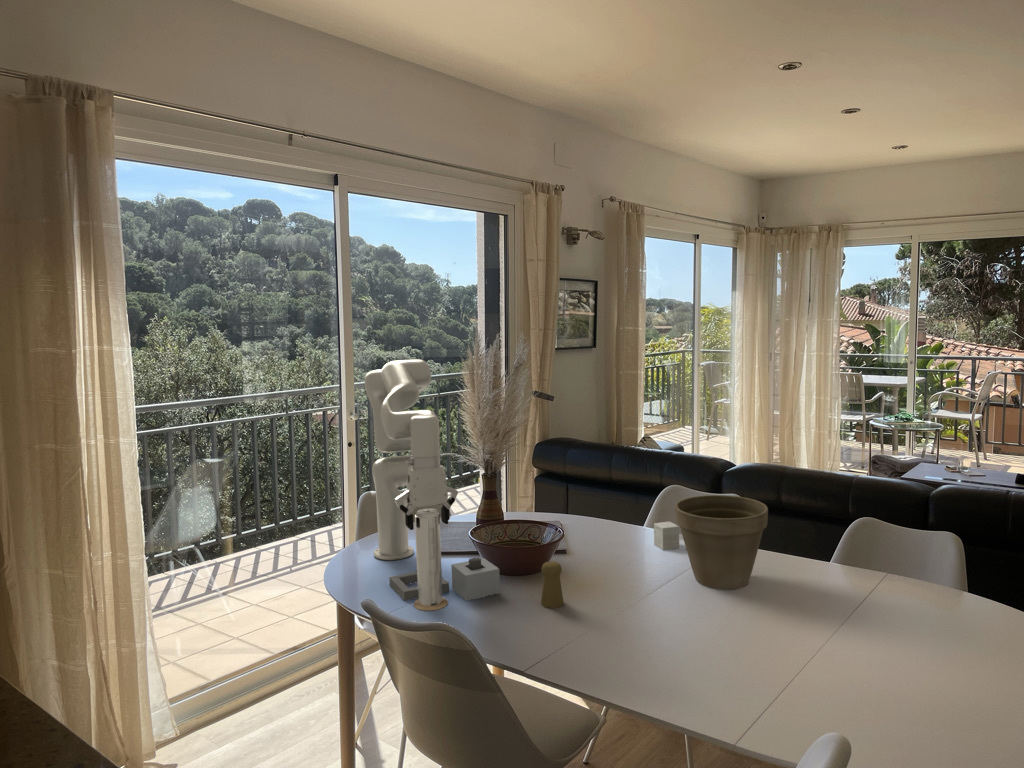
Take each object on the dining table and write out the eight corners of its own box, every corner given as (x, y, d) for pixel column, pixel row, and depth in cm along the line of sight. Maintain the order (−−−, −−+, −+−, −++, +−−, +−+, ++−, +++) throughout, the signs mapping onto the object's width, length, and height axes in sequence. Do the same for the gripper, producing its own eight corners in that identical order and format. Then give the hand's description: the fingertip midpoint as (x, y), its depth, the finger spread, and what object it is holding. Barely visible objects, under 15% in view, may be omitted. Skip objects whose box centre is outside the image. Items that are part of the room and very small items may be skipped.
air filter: (444, 597, 197) (441, 507, 194) (440, 607, 191) (436, 514, 188) (421, 597, 198) (417, 507, 195) (415, 607, 191) (411, 514, 189)
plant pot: (667, 590, 199) (667, 513, 197) (682, 561, 222) (682, 491, 219) (764, 602, 190) (765, 521, 187) (769, 570, 212) (770, 497, 210)
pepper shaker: (566, 600, 194) (565, 560, 193) (560, 609, 189) (559, 567, 187) (544, 597, 196) (543, 558, 195) (537, 606, 190) (537, 565, 189)
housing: (452, 588, 204) (451, 564, 203) (484, 581, 209) (483, 558, 208) (466, 600, 195) (465, 575, 195) (499, 593, 200) (499, 568, 199)
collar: (389, 585, 208) (389, 576, 208) (432, 576, 214) (432, 568, 213) (404, 600, 196) (404, 591, 196) (449, 591, 202) (448, 582, 202)
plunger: (467, 573, 202) (466, 559, 202) (478, 570, 204) (477, 557, 203) (472, 577, 199) (471, 562, 199) (483, 574, 201) (483, 560, 200)
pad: (409, 601, 196) (409, 600, 196) (440, 594, 200) (440, 593, 200) (420, 613, 188) (420, 612, 188) (453, 606, 192) (453, 605, 192)
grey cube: (653, 544, 238) (653, 523, 237) (670, 542, 240) (670, 521, 239) (662, 550, 232) (662, 528, 231) (679, 548, 234) (679, 526, 233)
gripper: (398, 468, 183) (400, 534, 185) (461, 460, 191) (463, 524, 193) (389, 463, 190) (391, 527, 191) (450, 455, 197) (452, 517, 199)
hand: (427, 525), depth 192 cm, fingers open, 9 cm apart
